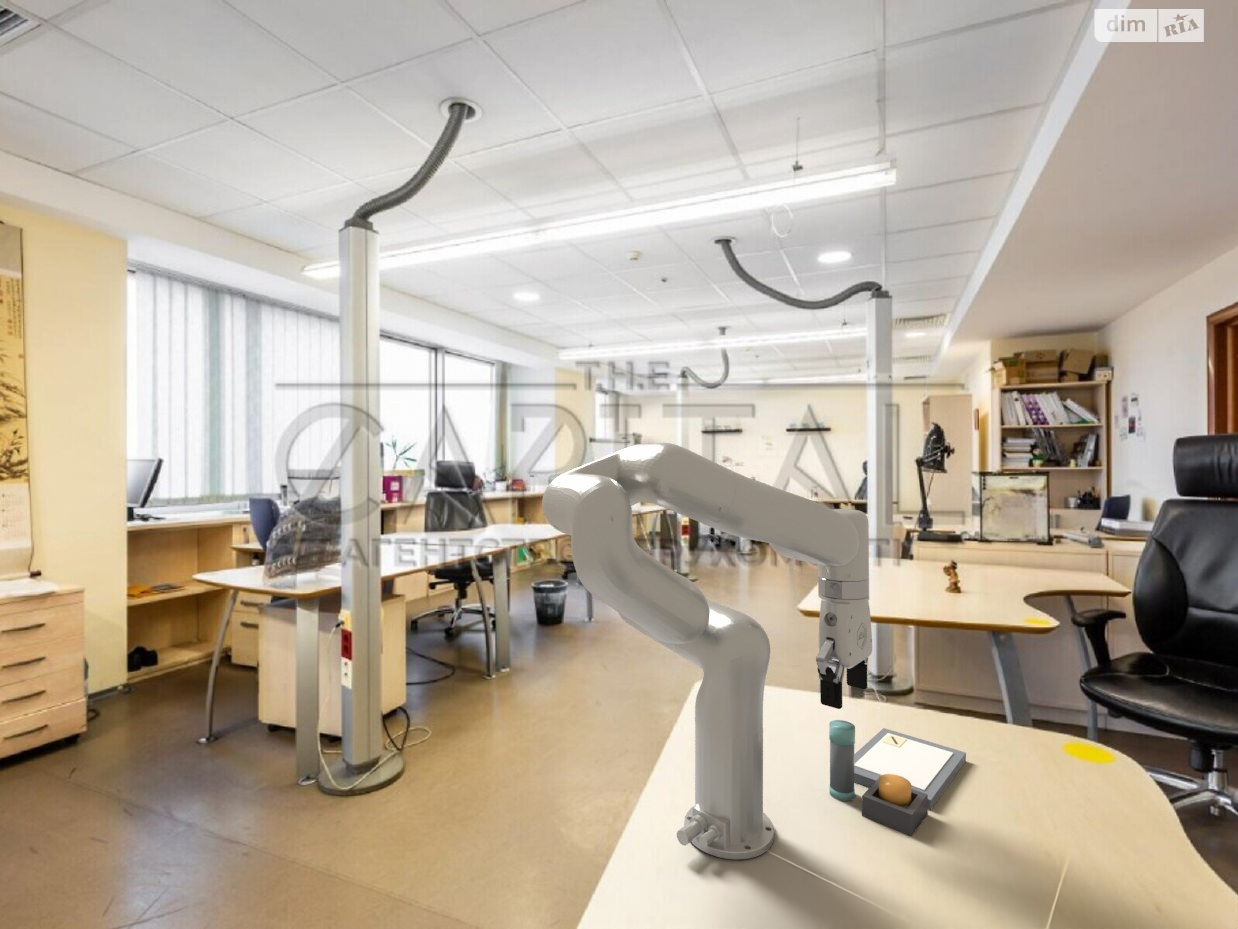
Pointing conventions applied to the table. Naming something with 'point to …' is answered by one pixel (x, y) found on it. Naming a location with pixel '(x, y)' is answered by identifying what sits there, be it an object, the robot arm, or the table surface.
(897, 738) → the drawing board
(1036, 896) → the table surface
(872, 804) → the button housing
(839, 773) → the marker
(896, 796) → the button
